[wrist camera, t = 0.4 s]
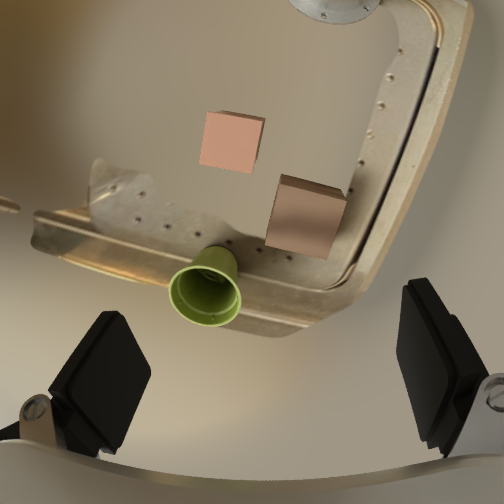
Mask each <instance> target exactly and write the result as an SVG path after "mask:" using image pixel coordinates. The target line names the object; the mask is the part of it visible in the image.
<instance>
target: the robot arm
mask: <svg viewBox="0 0 504 504" xmlns="http://www.w3.org/2000/svg"><path fill="white" fill-rule="evenodd" d="M288 1H289V3H290V4H291V5H292V6H293V7H294V8H295V9H297V10H298V11H299V12H301V13H302V14H304V15H305V16H307V17H309V18H312V19H314V20H316V21H320V22H323V23H328V24H350V23H355V22H357V21H360V20H362V19H364V18H366V17H367V16H369V15H370V14H371V13H372V12H373V11H374V10H375V9H376V8H377V6H378V4H379V2H380V0H288ZM364 8H365V9H367V11H365V10H364ZM323 15H324V16H326V18H322V16H323ZM396 354H397V359H398V362H399V366H400V369H401V372H402V375H403V378H404V381H405V385H406V388H407V392H408V395H409V398H410V402H411V405H412V409H413V413H414V416H415V420H416V423H417V428H418V432H419V436H420V439H421V441H422V442H424V441H426V442H427V446H428V449H432V448H435V447H439V450H440V453H441V454H443V456H442V458H441V459H438V460H433V461H428V462H424V463H418V464H414V465H409V466H404V467H399V468H394V469H388V470H383V471H377V472H370V473H363V474H356V475H348V476H339V477H330V478H320V479H305V480H281V481H255V480H252V481H251V480H227V479H213V478H202V477H192V476H184V475H176V474H169V473H162V472H156V471H150V470H145V469H140V468H134V467H130V466H124V465H120V464H116V463H112V462H108V461H104V460H100V457H99V454H98V452H99V449H101V451H102V452H104V453H109V454H113V455H115V454H116V451H117V449H118V448H119V447H121V445H122V443H123V441H124V438H125V436H126V433H127V431H128V428H129V426H130V423H131V421H132V419H133V416H134V414H135V411H136V409H137V407H138V404H139V402H140V400H141V397H142V395H143V393H144V390H145V388H146V386H147V383H148V381H149V379H150V376H151V369H150V366H149V364H148V362H147V360H146V359H145V357H144V355H143V353H142V351H141V349H140V347H139V345H138V344H137V342H136V339H135V338H134V335H133V333H132V332H131V329H130V327H129V326H128V323H127V321H126V319H125V317H124V316H123V315H121V314H120V313H119V312H118V311H104V312H102V313H101V314H100V315H99V317H98V318H97V319H96V321H95V322H94V323H93V325H92V326H91V328H90V329H89V330H88V332H87V333H86V335H85V336H84V338H83V339H82V340H81V342H80V343H79V345H78V346H77V347H76V349H75V350H74V352H73V353H72V354H71V356H70V357H69V359H68V360H67V362H66V363H65V365H64V366H63V368H62V369H61V371H60V372H59V374H58V375H57V377H56V378H55V380H54V381H53V383H52V384H51V386H50V387H49V389H48V391H49V393H50V394H51V395H52V396H53V397H52V399H51V400H50V399H49V397H48V396H46V395H44V394H38V395H34V396H32V397H31V398H29V399H28V400H27V401H26V402H25V403H24V404H23V406H22V408H21V410H20V415H19V421H17V422H15V423H13V424H11V425H10V426H7V427H5V428H3V429H1V430H0V504H504V373H496V374H492V375H489V373H488V371H487V370H486V368H485V366H484V364H483V362H482V360H481V358H480V357H479V354H478V353H477V351H476V349H475V347H474V345H473V344H472V342H471V340H470V339H469V337H468V335H467V333H466V331H465V330H464V328H463V326H462V325H461V323H460V321H459V320H458V318H457V317H456V316H455V315H453V314H451V315H450V313H449V312H448V310H447V309H446V307H445V305H444V304H443V302H442V301H441V299H440V297H439V296H438V294H437V293H436V291H435V290H434V288H433V286H432V285H431V283H430V282H429V280H428V279H427V278H418V279H413V280H409V282H408V285H405V286H403V291H402V302H401V314H400V323H399V332H398V340H397V347H396Z"/></svg>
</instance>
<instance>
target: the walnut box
mask: <svg viewBox="0 0 504 504" xmlns="http://www.w3.org/2000/svg"><path fill="white" fill-rule="evenodd" d="M346 203H347V201H346V199H345V197H344V195H343V193H342V191H341V189H338V188H334V187H331V186H327V185H323V184H320V183H315V182H312V181H308V180H304V179H301V178H297V177H292V176H289V175H284V174H281V176H280V180H279V184H278V188H277V192H276V196H275V200H274V204H273V208H272V212H271V216H270V220H269V224H268V228H267V234H266V241H265V245H266V246H270V247H274V248H279V249H283V250H287V251H291V252H296V253H300V254H304V255H308V256H312V257H317V258H321V259H325V260H327V258H328V255H329V252H330V250H331V247H332V244H333V241H334V238H335V235H336V232H337V230H338V227H339V224H340V221H341V218H342V215H343V212H344V209H345V206H346Z"/></svg>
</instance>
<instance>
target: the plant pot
mask: <svg viewBox="0 0 504 504" xmlns="http://www.w3.org/2000/svg"><path fill="white" fill-rule="evenodd" d="M206 273H208V274H210V275H211V276H214V277H215V278H211V277H209V276H207V275H206ZM169 297H170V300H171V303H172V305H173V307H174V308H175V309H176V310H177V311H178V313H179V314H180V315H181V316H183V317H184V318H186V319H187V320H189V321H191V322H192V323H195V324H198V325H202V326H212V327H213V326H220V325H224V324H226V323H228V322H230V321H232V320H233V319H234V318H235V317H236V316H237V314H238V313H239V311H240V308H241V302H242V298H241V292H240V289H239V287H238V285H237V262H236V259H235V257H234V255H233V254H232V253H231V252H230V251H228V250H227V249H225V248H223V247H219V246H213V247H208V248H205V249H203V250H202V251H201V252H200V253H199V254H198V255H197V257H196V258H195V259H194V260H193V261H192V262H191V264H190V265H189V266H188V267H185V268H183V269H181V270H180V271H178V272H177V273H176V274H175V275H174V277H173V278H172V280H171V282H170V285H169Z"/></svg>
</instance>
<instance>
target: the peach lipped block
mask: <svg viewBox="0 0 504 504" xmlns="http://www.w3.org/2000/svg"><path fill="white" fill-rule="evenodd" d="M264 122H265V118H261V117H256V116H251V115H246V114H240V113H234V112H228V111H218V112H207V119H206V124H205V130H204V137H203V143H202V149H201V157H200V163H199V164H203V165H209V166H213V167H219V168H224V169H229V170H234V171H239V172H245V173H250V174H252V173H253V168H254V164H255V162H256V160H257V156H258V152H259V147H260V141H261V137H262V132H263V128H264Z"/></svg>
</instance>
